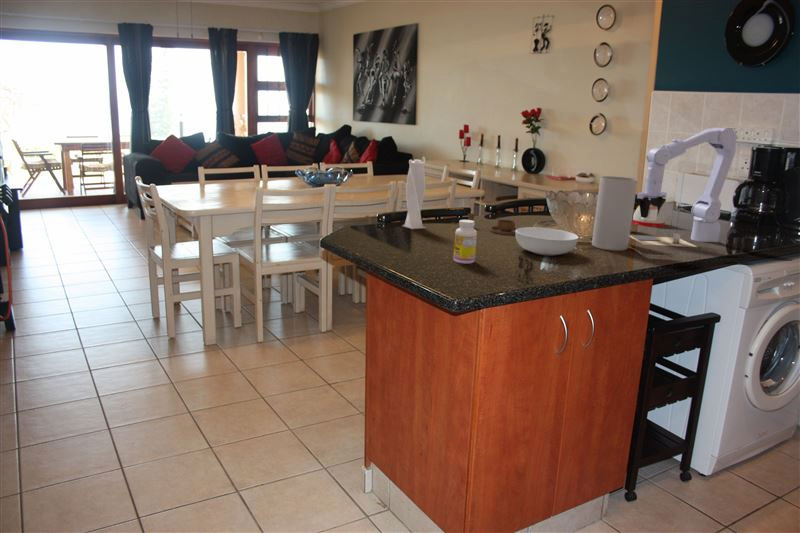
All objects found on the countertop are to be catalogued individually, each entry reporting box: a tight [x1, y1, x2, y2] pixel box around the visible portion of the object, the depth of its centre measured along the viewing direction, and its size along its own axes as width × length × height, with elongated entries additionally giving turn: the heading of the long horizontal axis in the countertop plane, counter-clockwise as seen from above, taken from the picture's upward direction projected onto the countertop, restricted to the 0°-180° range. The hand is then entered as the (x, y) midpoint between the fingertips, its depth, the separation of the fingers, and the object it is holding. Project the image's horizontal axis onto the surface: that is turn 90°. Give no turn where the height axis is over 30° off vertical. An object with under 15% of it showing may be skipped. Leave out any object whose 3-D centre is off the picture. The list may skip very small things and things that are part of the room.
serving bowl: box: [514, 226, 579, 257], centre depth 217 cm, size 21×21×7 cm
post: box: [672, 232, 681, 244], centre depth 237 cm, size 2×2×4 cm
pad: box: [630, 234, 660, 241], centre depth 243 cm, size 8×8×1 cm
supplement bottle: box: [452, 219, 478, 264], centre depth 197 cm, size 7×7×13 cm
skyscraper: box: [401, 156, 427, 230], centre depth 245 cm, size 8×8×28 cm
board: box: [629, 235, 698, 248], centre depth 241 cm, size 20×16×2 cm
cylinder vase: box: [591, 175, 638, 252], centre depth 228 cm, size 12×12×25 cm
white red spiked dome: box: [632, 198, 666, 228], centre depth 284 cm, size 14×14×15 cm
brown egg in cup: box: [641, 205, 658, 221], centre depth 241 cm, size 5×5×5 cm
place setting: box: [467, 213, 519, 236], centre depth 252 cm, size 18×20×6 cm
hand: (648, 217), depth 241 cm, fingers closed on brown egg in cup, 5 cm apart
